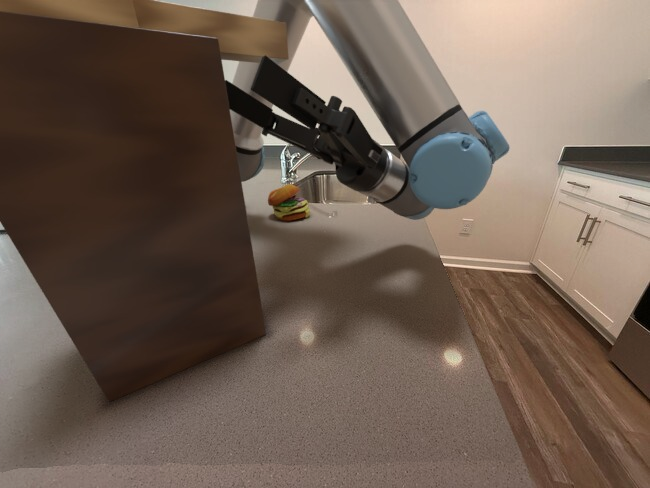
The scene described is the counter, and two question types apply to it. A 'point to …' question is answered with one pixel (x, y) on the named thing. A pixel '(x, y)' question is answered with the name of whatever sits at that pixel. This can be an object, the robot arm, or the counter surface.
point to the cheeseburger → (288, 203)
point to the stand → (126, 193)
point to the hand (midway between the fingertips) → (235, 83)
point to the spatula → (172, 23)
